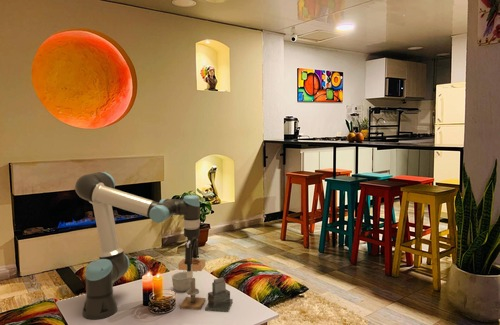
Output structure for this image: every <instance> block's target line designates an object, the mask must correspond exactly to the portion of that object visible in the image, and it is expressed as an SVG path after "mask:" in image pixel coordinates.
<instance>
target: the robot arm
mask: <svg viewBox="0 0 500 325" xmlns="http://www.w3.org/2000/svg"><path fill="white" fill-rule="evenodd" d="M115 187H116V181H115V179H114V177H113V175H111V174H109V173H108V172H105V171H96V172H93V173H88V174H87V173H86V174H84V175H81V176H80V177H79V178H78V179H77V180H76V182H75V184H74V190H75V193H76V194H77V196H79V198H81V199H83V200H85V201H88V202H89V203H90V205H91V204H92V207H93V208H92V209H93V214H94V219H95V223H96V229H97V234H98V239H99V244H100V246H99V247H100V251H101V252H100V253H99V254H98V257H99V259H96V260H93V261H91V262H89V263H88V264H87V265H86V266H85V273H84V276H85V293H86V294H85V296H86V298H85V302H84V305H83V307H82V316H83V318H85V319H88V320H101V319H105V318H109V317H111V316H113V315H115V314H116V313H117V311H118V303H117V300H116V298H115V295H114V287H113V286H114V284H113V283H115V282H116V281H118V280H119V279H121V278H122V277H123V276H125V275H126V273H127V272H128V270H129V269H130V265H131V264H130V259H129V257H128V255H126V254H125V253H124V249H123V248H121V247H120V244H119V238H118V232H117V226H116V221H115V216H114V212H113V207H115V208H118V209H121V210H124V211H128V212H131V213H135V214H137V215H140V216H144V217H147V218H150V219H151V221H152V222H154V223H155V224H156V223H157V224H159V223H163V222H165V221H166V220H168V219H169V218H171V217H172V216H183V235H184V237H186V238H187V239H186V242H185V248H184V249H185V250H184V252H185V253H184V254H185V256H184V259H185V264H187V270H186V272H187V277H188V278H194V277H193V275H194V274H193V272H195V273H197V272H198V271H193V264H192V259H200V255H199V236H200V234H201V232H200V231H201V229H200V226H201V225H200V224H201V223H202V222H201V221H200V219H201V217H200V216H201V215H200V212H201V211H200V209H201V208H200V207H201V204H200V197H199V196H198V195H196V194H190V195H189V194H188V195H187V194H186V195H184V196H183V199H175V198H171V199H170V198H164V199H163V198H162V199H160V200H159V202H158V201H155V200H152V199H149V198H145V197H143V196H138V195H136V194H133V193H129V192H125V191H122V190H120V189H117V188H115Z"/></svg>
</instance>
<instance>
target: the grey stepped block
mask: <svg viewBox="0 0 500 325" xmlns="http://www.w3.org/2000/svg"><path fill="white" fill-rule="evenodd" d="M226 285H227V284H226V280H225V278H224V277H219V278H215V279H213V282H212V283H211V286H212V291H209V292H208V293H207V301H208V302H207V304H206V306H205V308H204V311H205V312H217V313H218V312H219V313H221V312H222V313H229V311H230V309H231V306H232V304H233V298H231V291H230V290H228V289H227V288H226V287H227V286H226Z"/></svg>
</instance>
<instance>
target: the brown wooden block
mask: <svg viewBox="0 0 500 325" xmlns="http://www.w3.org/2000/svg"><path fill="white" fill-rule="evenodd" d="M192 264H193V272H195V271H197V272H202V271H203V270H204V268H205V267H206V259H200V258H197V259H192ZM177 265H178V267H177V268H178V269H177V270H179V271H187V264H185V258H182V259H181V261H180V262H178V264H177Z"/></svg>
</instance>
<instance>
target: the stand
mask: <svg viewBox="0 0 500 325" xmlns="http://www.w3.org/2000/svg"><path fill="white" fill-rule="evenodd" d="M199 292H200V290H199V289H198V288H196V278H195V277H192V278H190V289H188V290H187V291H186V294H187V295H188V296H185V298H184V299H183V301H182V302H181V303H180V305H179V310H180V309H181V310H196V311H201V310H202V308H203V306H204V305H205V302H206V301H207V299H206V297H199V296H198V297H196V295H198V294H199Z"/></svg>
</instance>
